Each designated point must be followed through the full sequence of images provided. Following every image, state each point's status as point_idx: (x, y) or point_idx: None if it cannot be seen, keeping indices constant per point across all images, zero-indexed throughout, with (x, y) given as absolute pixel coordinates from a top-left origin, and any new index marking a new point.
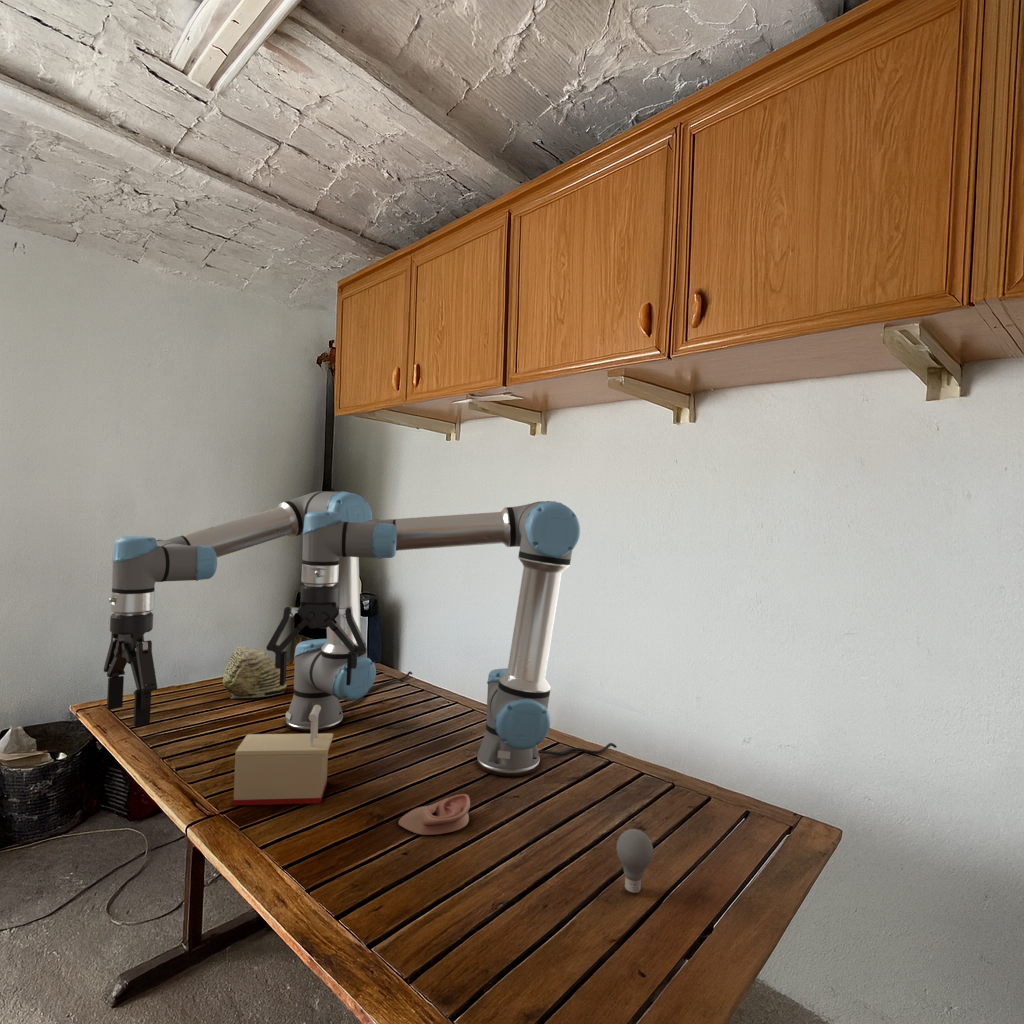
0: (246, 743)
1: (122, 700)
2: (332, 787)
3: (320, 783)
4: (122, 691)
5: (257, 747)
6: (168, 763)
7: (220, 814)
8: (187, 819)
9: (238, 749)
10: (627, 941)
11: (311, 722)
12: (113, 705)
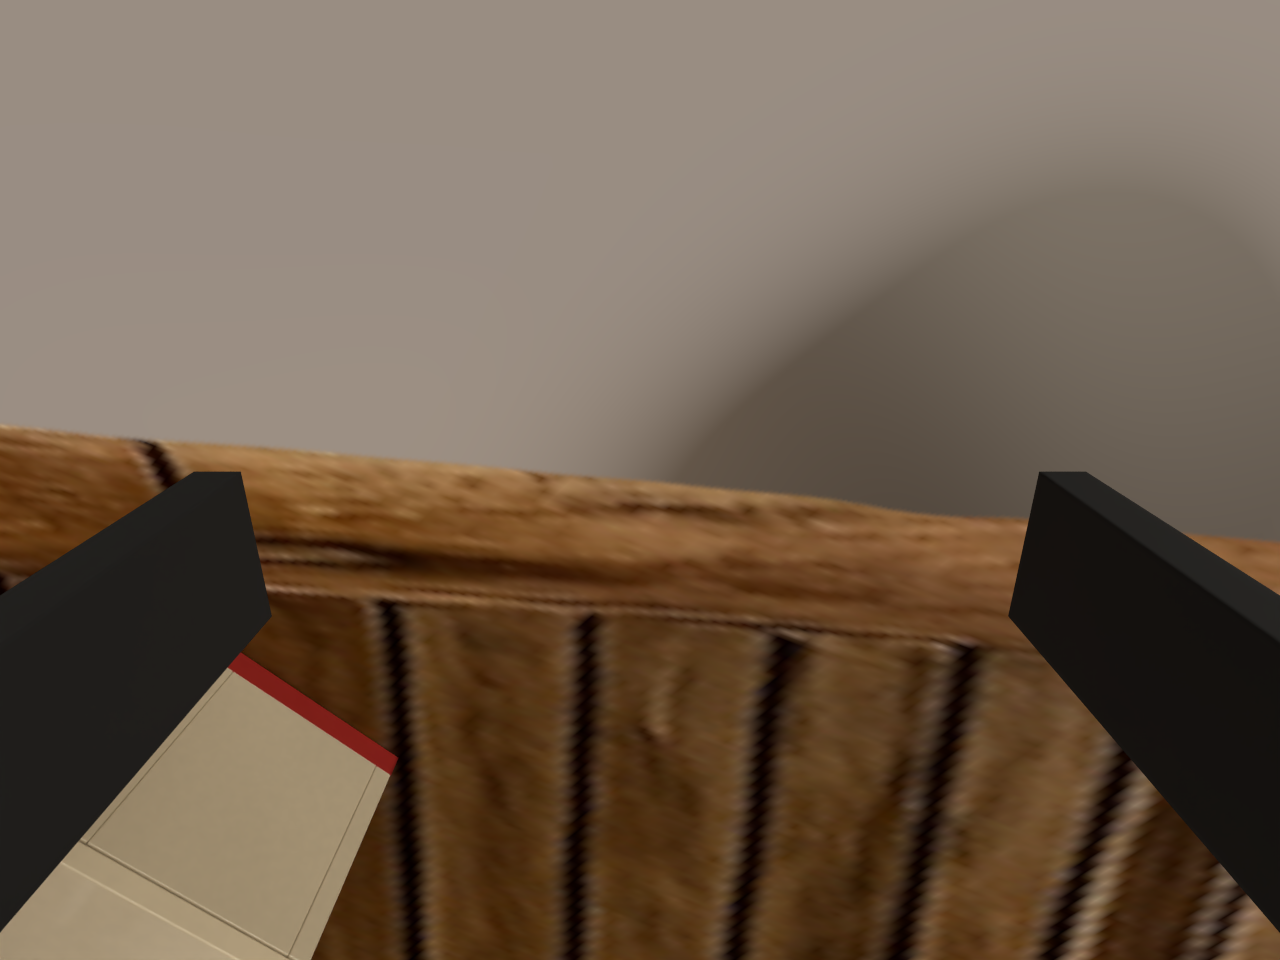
0: (141, 935)
1: (1049, 662)
2: None
3: None
4: (1131, 745)
5: (37, 945)
6: (887, 643)
7: None
8: (215, 464)
9: (59, 873)
10: None
11: None
12: (1049, 545)
